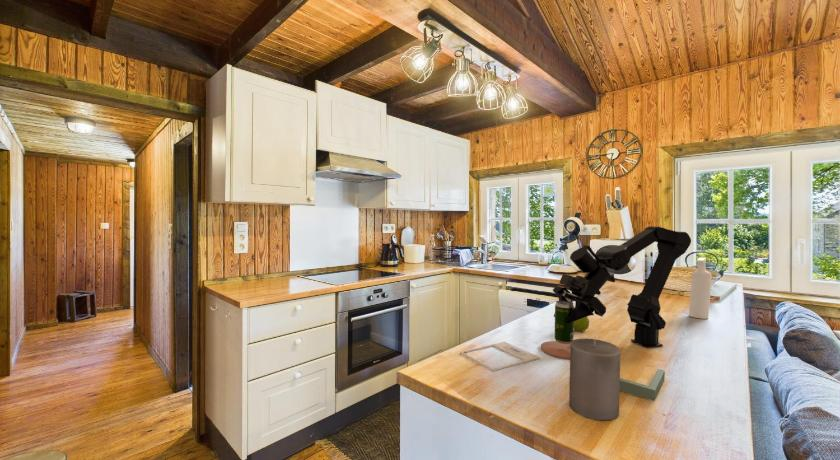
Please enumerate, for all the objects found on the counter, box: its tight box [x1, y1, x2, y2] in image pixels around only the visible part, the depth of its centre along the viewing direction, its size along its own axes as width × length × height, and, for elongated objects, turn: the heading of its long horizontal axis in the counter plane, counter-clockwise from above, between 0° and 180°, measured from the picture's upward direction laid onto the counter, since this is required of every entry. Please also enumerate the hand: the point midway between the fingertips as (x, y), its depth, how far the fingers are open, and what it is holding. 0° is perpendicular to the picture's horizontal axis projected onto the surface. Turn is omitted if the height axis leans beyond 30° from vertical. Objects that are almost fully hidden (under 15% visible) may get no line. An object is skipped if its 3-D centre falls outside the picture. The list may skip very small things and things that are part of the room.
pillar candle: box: [568, 337, 621, 421], centre depth 75 cm, size 10×10×15 cm
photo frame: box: [459, 341, 541, 373], centre depth 104 cm, size 15×1×18 cm
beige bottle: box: [688, 257, 713, 320], centre depth 148 cm, size 7×12×25 cm, turn 131°
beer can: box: [554, 300, 575, 344], centre depth 108 cm, size 5×5×12 cm
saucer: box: [540, 340, 571, 360], centre depth 108 cm, size 13×13×1 cm
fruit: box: [574, 316, 590, 332], centre depth 128 cm, size 6×6×12 cm
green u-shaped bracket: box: [620, 368, 666, 402], centre depth 90 cm, size 14×17×2 cm
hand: (560, 320), depth 108 cm, fingers closed on beer can, 5 cm apart
